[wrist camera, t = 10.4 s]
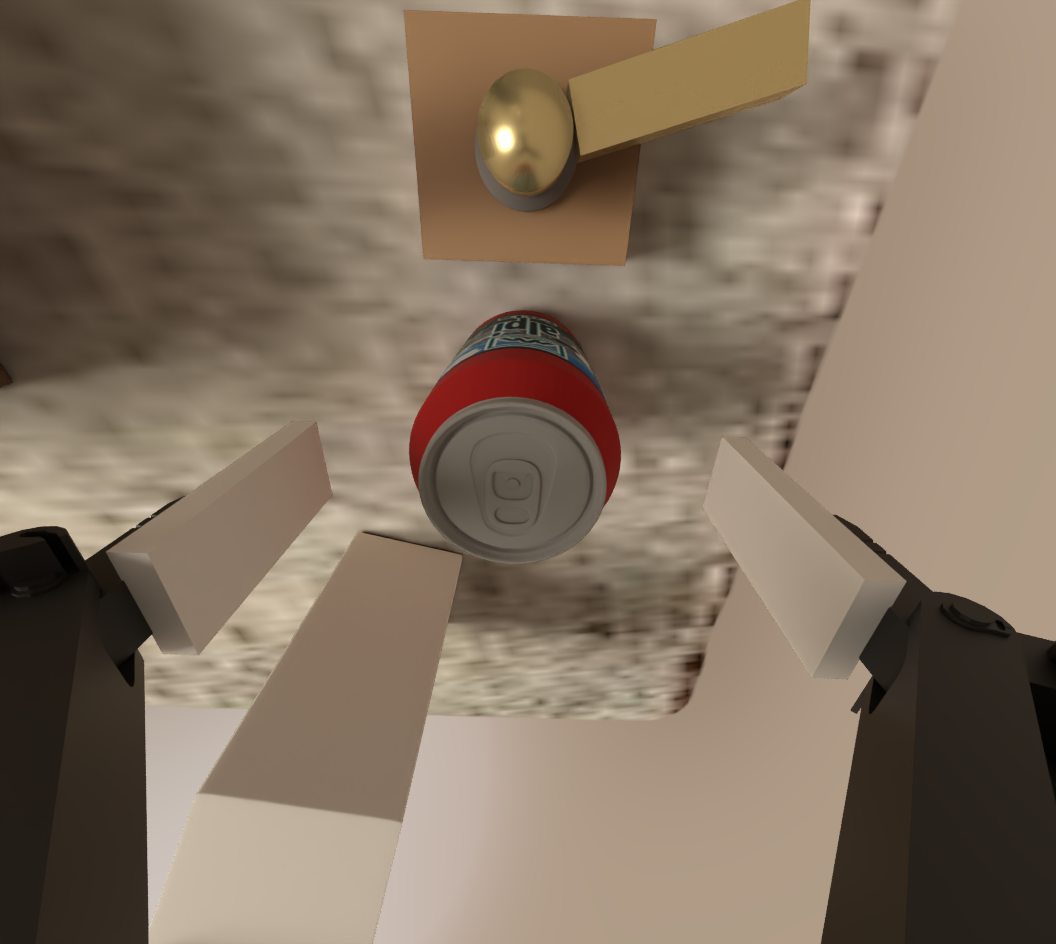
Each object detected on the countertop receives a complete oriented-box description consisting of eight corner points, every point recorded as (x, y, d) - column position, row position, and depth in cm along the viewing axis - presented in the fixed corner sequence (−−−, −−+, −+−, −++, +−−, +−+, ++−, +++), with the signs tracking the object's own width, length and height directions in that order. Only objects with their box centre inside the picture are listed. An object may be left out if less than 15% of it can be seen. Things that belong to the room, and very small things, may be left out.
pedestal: (428, 53, 16) (399, 2, 13) (633, 61, 16) (661, 11, 13) (441, 256, 20) (420, 259, 16) (610, 262, 20) (627, 266, 16)
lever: (775, 4, 12) (819, -39, 10) (773, 121, 14) (812, 102, 12) (474, 109, 14) (464, 87, 12) (498, 207, 15) (493, 202, 13)
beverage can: (593, 310, 21) (653, 380, 10) (579, 435, 24) (614, 585, 13) (457, 304, 21) (376, 368, 10) (462, 430, 24) (405, 577, 13)
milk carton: (357, 529, 27) (85, 972, 11) (463, 553, 28) (362, 997, 12) (350, 604, 31) (133, 1030, 14) (445, 623, 32) (346, 1047, 15)
